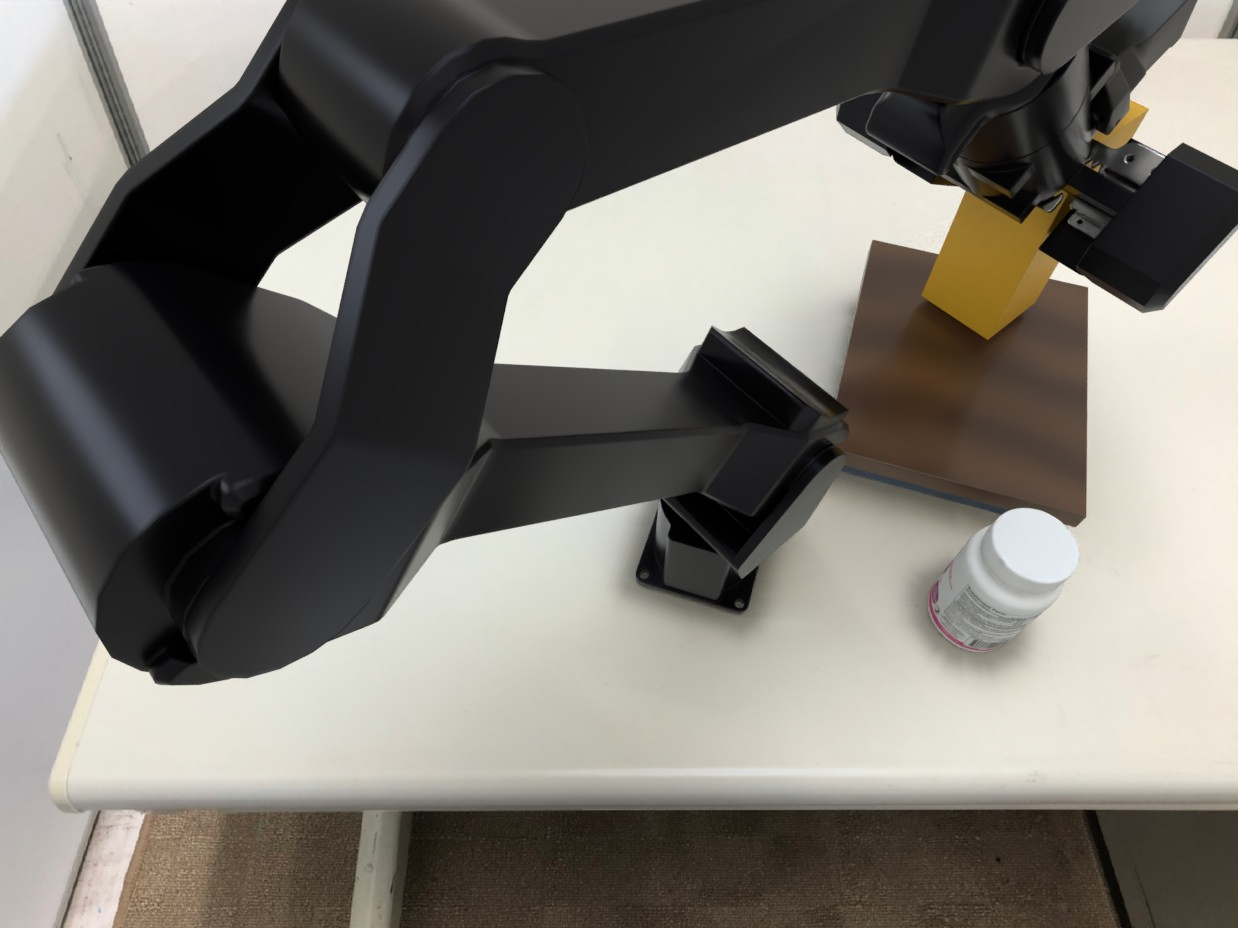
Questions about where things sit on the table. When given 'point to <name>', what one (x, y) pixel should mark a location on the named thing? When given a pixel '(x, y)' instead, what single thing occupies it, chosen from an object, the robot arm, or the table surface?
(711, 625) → the table surface
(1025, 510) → the pill bottle
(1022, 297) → the block
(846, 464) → the board
